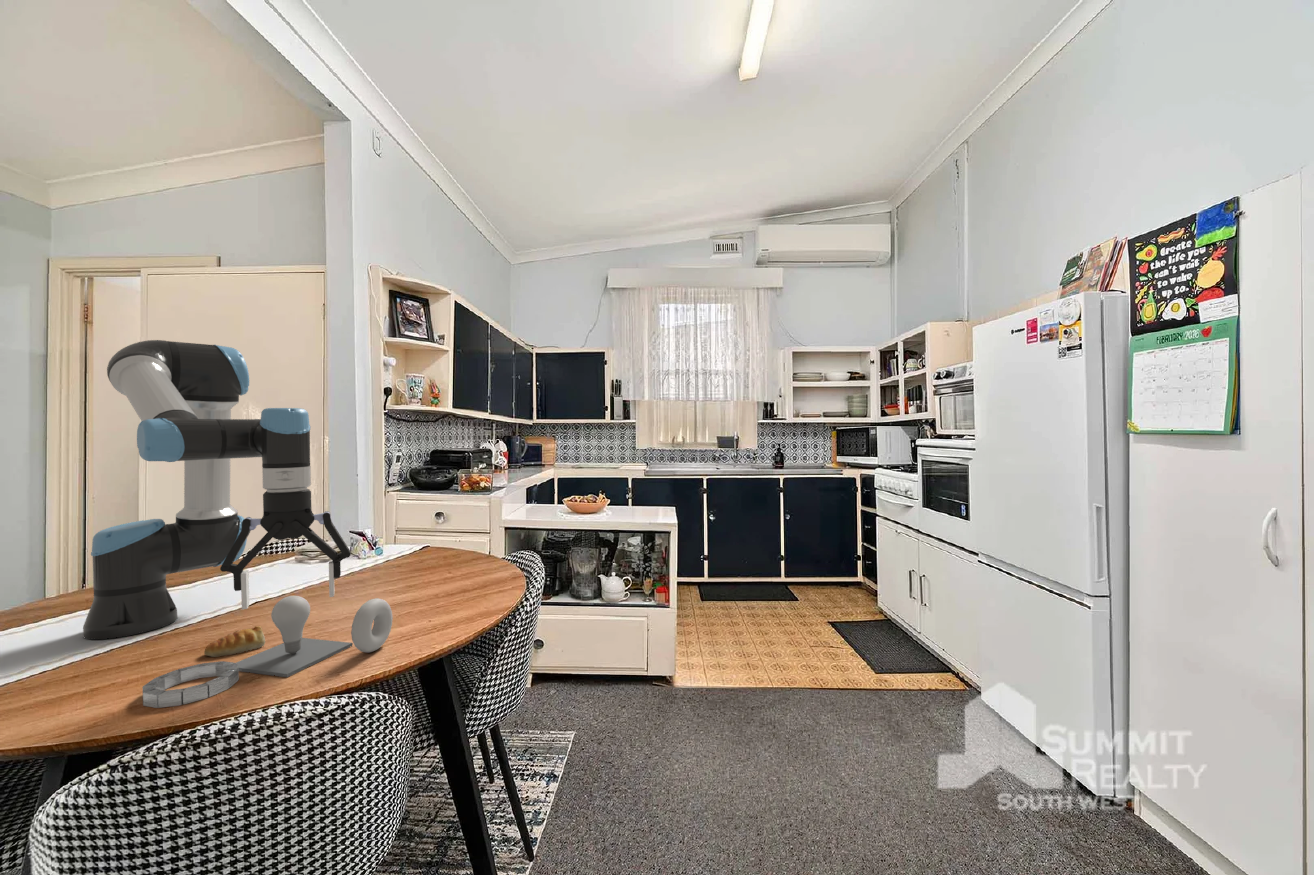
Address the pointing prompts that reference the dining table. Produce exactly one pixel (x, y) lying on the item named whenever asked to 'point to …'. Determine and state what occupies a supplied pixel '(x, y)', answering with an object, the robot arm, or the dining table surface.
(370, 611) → the donut
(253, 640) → the pastry
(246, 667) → the mat
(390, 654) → the dining table surface
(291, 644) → the lightbulb
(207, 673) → the segmented bracelet
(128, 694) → the dining table surface
